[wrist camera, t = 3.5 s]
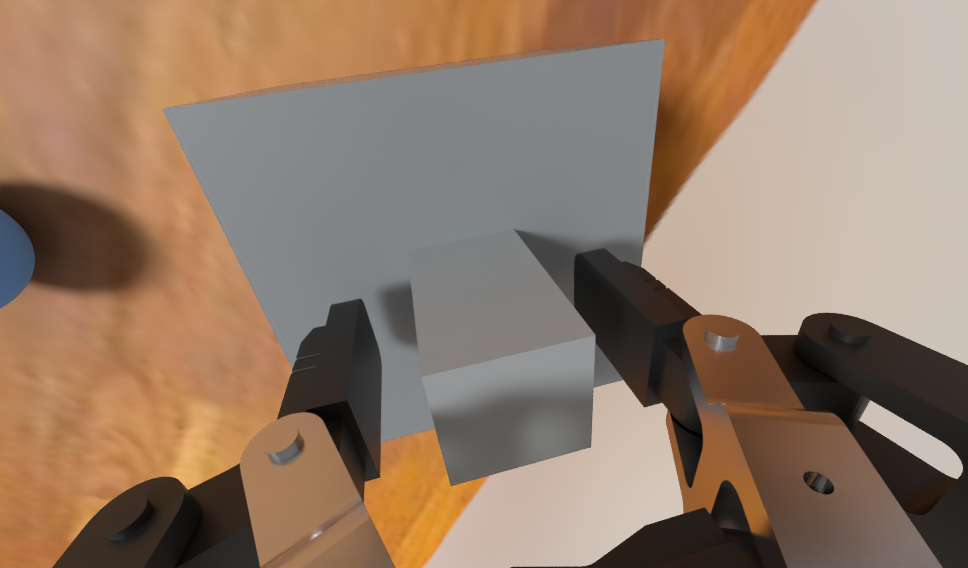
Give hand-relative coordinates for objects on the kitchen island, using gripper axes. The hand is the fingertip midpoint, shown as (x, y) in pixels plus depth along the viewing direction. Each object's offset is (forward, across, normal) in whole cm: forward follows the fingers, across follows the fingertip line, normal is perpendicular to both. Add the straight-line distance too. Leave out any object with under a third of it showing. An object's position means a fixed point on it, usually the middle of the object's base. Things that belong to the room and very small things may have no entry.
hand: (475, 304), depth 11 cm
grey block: (+10, 0, 0) cm, 10 cm away
